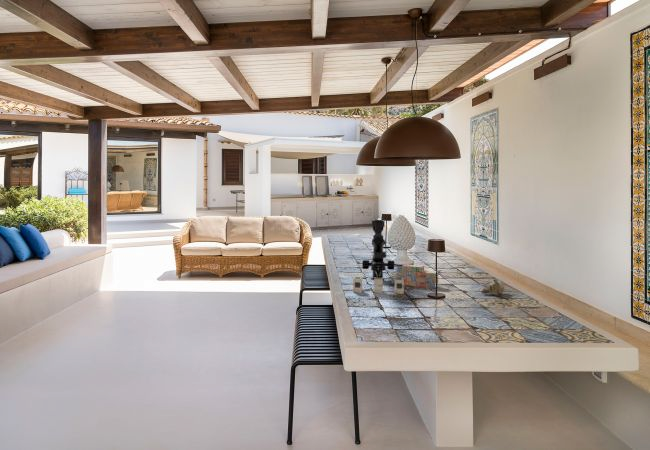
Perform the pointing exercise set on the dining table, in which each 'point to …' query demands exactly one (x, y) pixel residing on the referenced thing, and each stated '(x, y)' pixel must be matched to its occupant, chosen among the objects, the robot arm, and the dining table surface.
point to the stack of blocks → (418, 276)
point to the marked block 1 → (357, 284)
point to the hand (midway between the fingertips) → (378, 276)
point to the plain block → (378, 285)
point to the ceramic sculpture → (494, 288)
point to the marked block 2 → (399, 286)
